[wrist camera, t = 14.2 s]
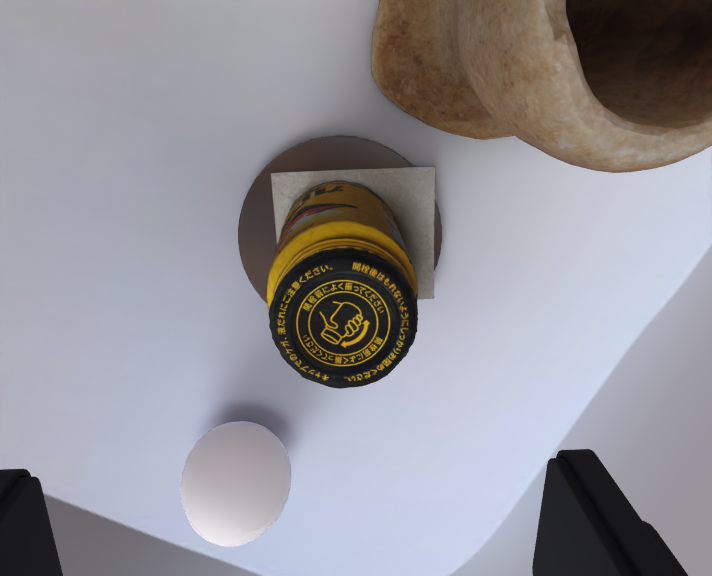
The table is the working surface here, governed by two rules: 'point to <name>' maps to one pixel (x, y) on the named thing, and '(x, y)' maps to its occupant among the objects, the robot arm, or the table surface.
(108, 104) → the table surface
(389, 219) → the condiment
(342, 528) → the table surface
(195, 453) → the egg
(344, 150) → the coaster
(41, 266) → the table surface
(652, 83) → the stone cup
